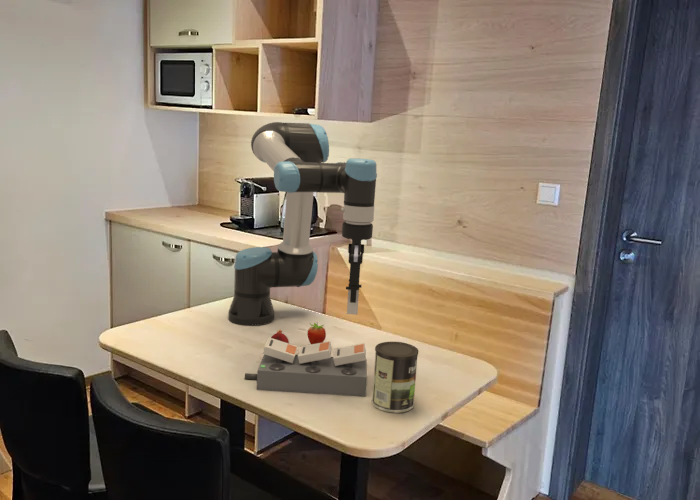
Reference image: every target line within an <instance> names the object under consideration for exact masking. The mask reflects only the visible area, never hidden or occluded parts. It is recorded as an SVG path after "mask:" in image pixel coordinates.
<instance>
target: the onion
mask: <svg viewBox="0 0 700 500" xmlns="http://www.w3.org/2000/svg"><path fill="white" fill-rule="evenodd" d="M270 338H273V339H276V340H279V341H282V342H286V343H289V344H290V340H289V338H288V337H287V335H286V334H285V333H283V330H281V329H278V330H277V331H276V333H274V334H273V335H271V336H270Z"/></svg>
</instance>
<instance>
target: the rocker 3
mask: <svg viewBox="0 0 700 500" xmlns="http://www.w3.org/2000/svg"><path fill="white" fill-rule="evenodd" d="M333 357H334V358H333V359H334V364H335V366H337V365H343V364H348V363H353V362H359V361H364V360H366V359H367V349H366V345H365V343H364V342H363V343H362V342H361V343H359V344H358V343H357V344H351V345H347V346H341V347H336V348H334V350H333Z"/></svg>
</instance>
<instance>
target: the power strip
mask: <svg viewBox="0 0 700 500" xmlns="http://www.w3.org/2000/svg"><path fill="white" fill-rule="evenodd" d="M333 358H334V356H331V357H330V358H327V359H322V360H317V361H311V362H306V363H301V364H300V363H299V359H298V354H295V357H294V360H293V363H290V362H287V361H284V360H281V359H278V358H274V357H271V356H268V355H265V354H263V356H262V358H261V361H260V364H259V366H258V368H257V373H250V372H249V373H247V372H245V373H244V379H245V380H256V390H261V391H262V390H263V391H273V392H274V391H276V392H290V393H291V392H292V393H307V394H309V393H310V394H311V393H312V394H322V395H323V394H324V395H326V394H327V395H339V396H340V395H341V396H355V397H366V395H367V384H368V382H367V381H368V371H367V370H368V364H367V363H368V362H367V361H368V360H367V358H366V360H364V361H359V362H353V363H348V364H343V365H337V366H335V364H334V359H333Z"/></svg>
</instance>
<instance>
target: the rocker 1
mask: <svg viewBox="0 0 700 500" xmlns="http://www.w3.org/2000/svg"><path fill="white" fill-rule="evenodd" d="M298 348H299V347H298V346H297V345H295V344H291V343H290V342H289V343H286V342H282V341H279V340H276V339H273V338H271V336H268V338H267V340H266V343H265V345H264V347H263V351H262V355H264V354H265V355H268V356H271V357H274V358H278V359H281V360H284V361H287V362H290V363H293V360H294V357H295V355H297V354H296V353H297V349H298Z"/></svg>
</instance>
